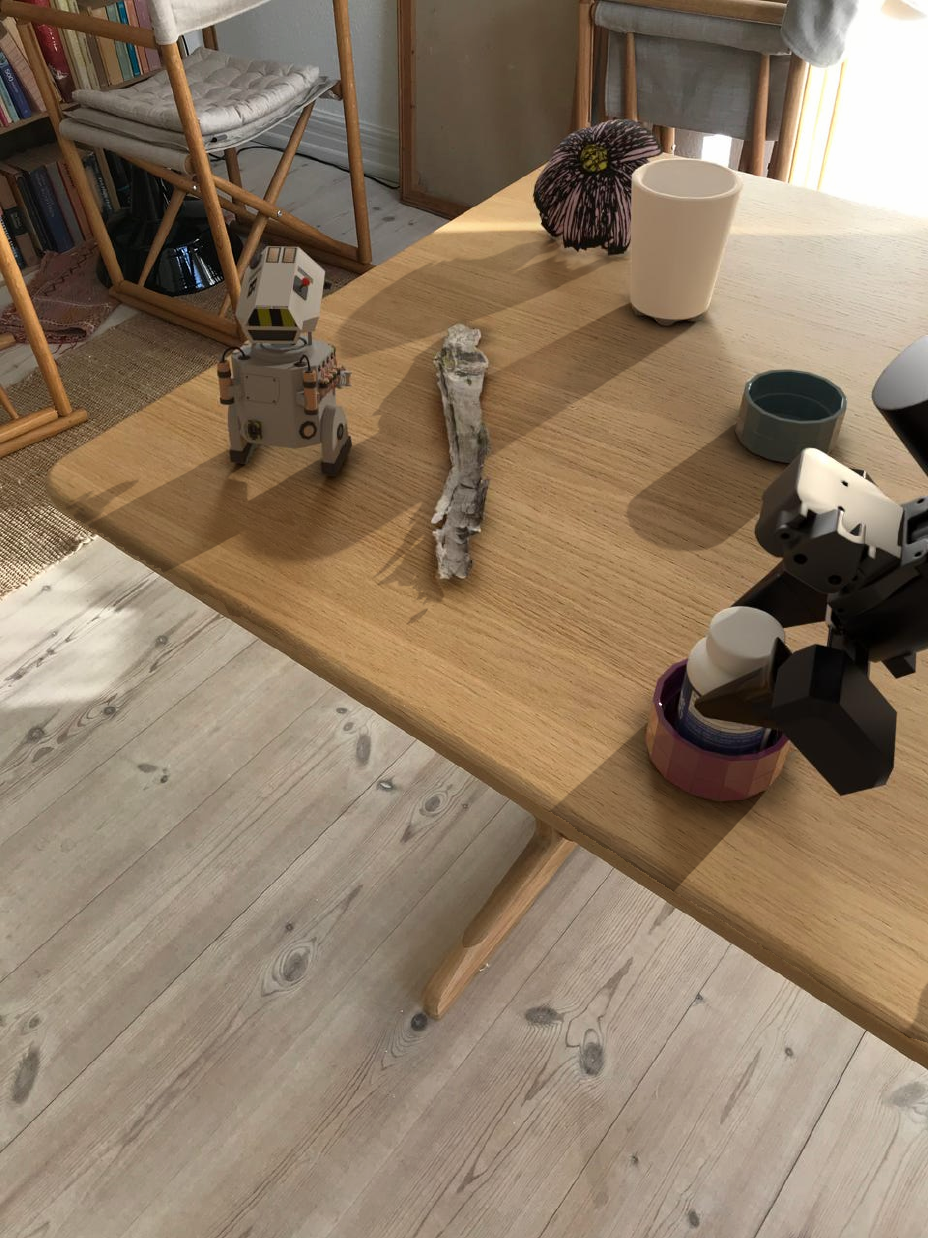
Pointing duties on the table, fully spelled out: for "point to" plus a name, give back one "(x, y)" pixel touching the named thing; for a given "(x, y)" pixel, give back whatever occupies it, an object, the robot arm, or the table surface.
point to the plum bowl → (702, 767)
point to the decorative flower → (594, 184)
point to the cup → (679, 235)
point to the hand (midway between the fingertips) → (708, 667)
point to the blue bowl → (790, 414)
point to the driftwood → (461, 449)
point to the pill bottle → (726, 678)
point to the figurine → (283, 363)
